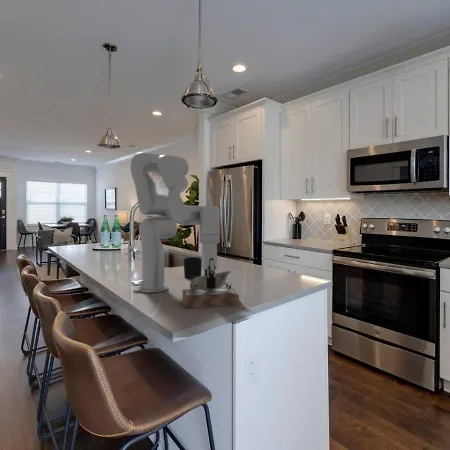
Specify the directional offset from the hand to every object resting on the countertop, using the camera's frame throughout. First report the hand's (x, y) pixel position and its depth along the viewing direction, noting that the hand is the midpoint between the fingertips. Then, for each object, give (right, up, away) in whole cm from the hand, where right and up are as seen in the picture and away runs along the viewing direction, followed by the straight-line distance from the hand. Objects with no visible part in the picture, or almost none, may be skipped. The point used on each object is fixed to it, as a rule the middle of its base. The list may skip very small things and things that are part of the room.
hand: (209, 285), depth 118 cm
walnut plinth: (0, -7, 0) cm, 7 cm away
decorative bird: (0, -3, 0) cm, 3 cm away
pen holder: (-11, -5, +45) cm, 47 cm away
